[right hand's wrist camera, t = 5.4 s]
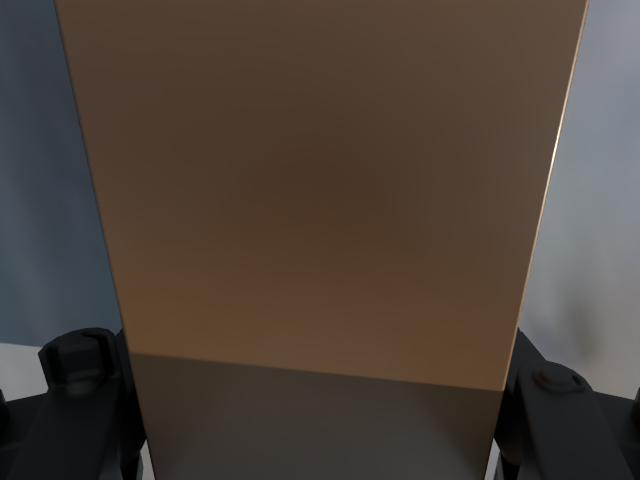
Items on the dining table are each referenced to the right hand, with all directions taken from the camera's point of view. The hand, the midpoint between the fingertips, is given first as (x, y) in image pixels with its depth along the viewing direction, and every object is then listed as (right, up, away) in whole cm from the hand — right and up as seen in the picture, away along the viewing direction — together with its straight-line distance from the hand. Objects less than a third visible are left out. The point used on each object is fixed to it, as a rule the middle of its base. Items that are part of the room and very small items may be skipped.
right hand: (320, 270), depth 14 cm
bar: (0, +32, -12) cm, 34 cm away
